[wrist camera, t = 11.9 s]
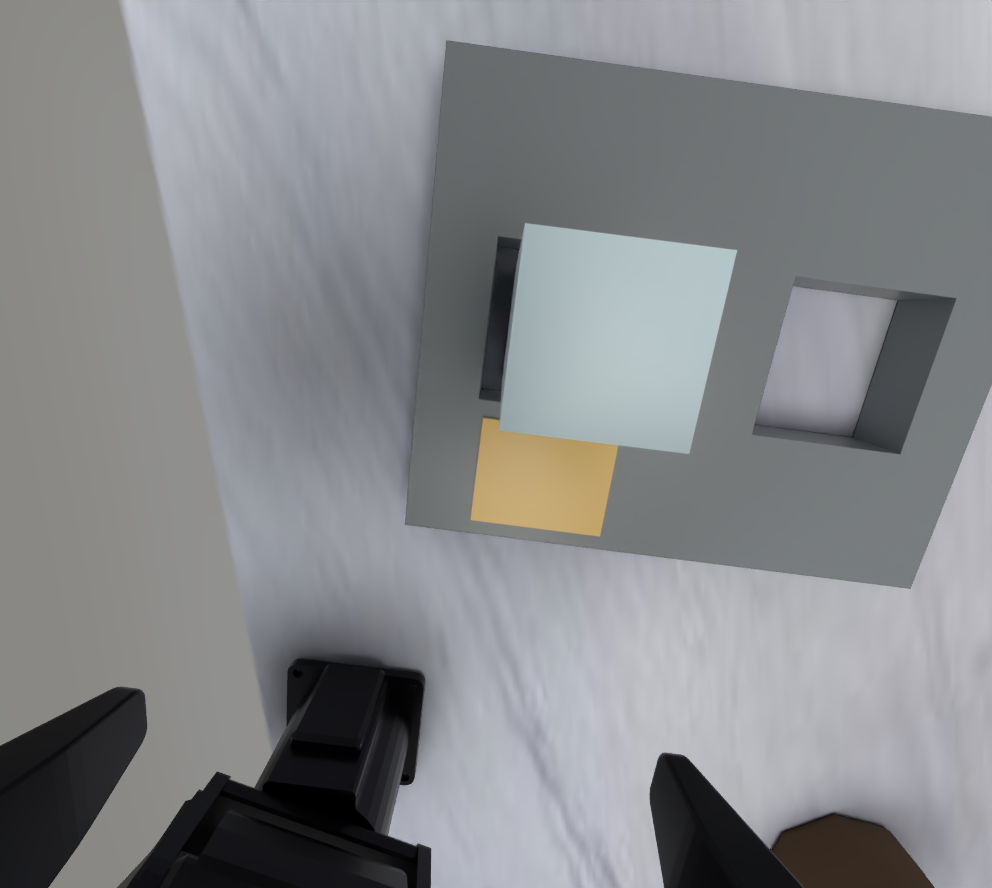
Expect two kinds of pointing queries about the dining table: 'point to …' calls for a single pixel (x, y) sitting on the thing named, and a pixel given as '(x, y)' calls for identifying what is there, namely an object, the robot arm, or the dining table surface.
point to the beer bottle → (847, 856)
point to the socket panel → (745, 319)
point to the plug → (611, 337)
